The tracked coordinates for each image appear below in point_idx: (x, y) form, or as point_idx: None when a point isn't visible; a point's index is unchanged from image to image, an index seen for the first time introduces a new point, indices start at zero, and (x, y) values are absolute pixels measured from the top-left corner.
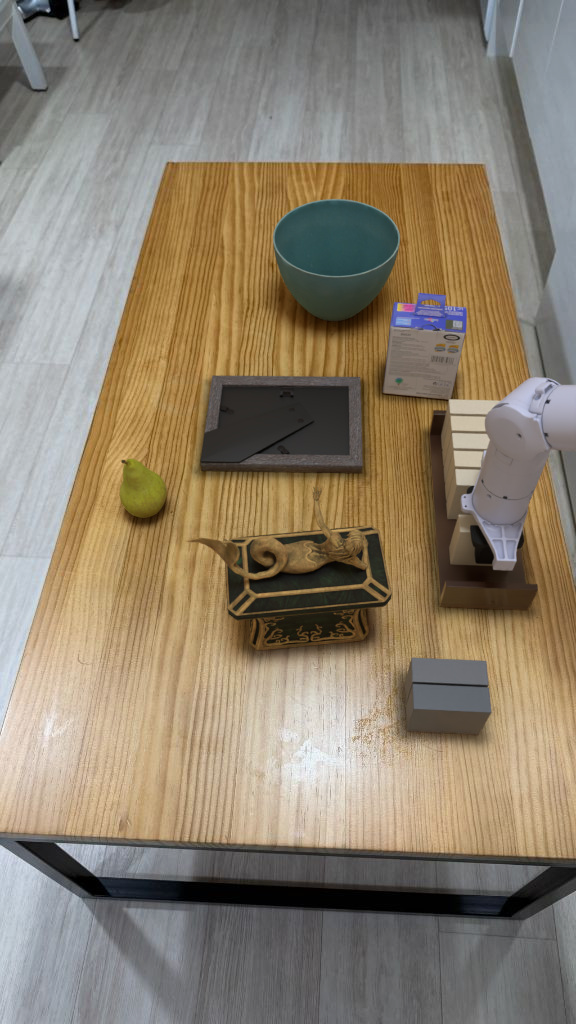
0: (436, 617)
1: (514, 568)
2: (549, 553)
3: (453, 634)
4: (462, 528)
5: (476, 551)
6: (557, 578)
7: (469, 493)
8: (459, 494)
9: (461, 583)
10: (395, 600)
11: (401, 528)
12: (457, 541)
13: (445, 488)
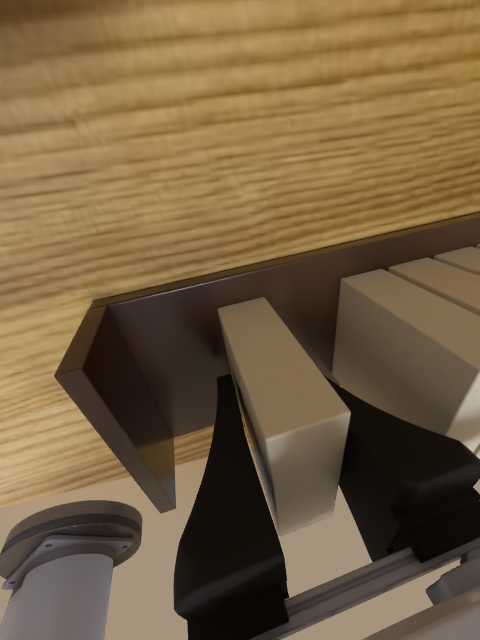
0: (55, 298)
1: None
2: None
3: (28, 343)
4: (284, 441)
5: (211, 446)
6: None
7: (455, 478)
8: (422, 349)
9: (95, 409)
10: (43, 165)
11: (317, 153)
12: (245, 383)
13: (421, 261)
